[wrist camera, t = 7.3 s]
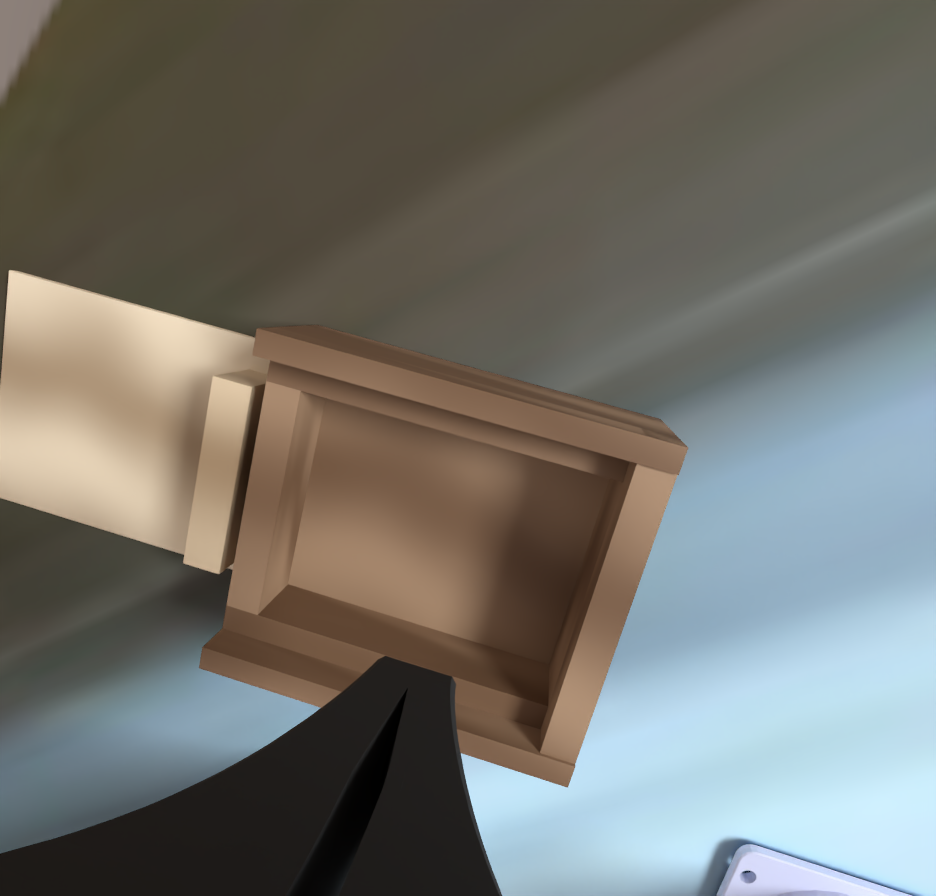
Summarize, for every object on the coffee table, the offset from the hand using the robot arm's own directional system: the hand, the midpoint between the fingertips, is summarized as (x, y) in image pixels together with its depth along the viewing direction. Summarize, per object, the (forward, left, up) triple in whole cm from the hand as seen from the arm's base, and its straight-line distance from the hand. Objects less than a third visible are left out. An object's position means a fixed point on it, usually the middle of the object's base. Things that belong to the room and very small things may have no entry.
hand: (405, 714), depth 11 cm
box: (0, +1, -10) cm, 10 cm away
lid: (0, +12, -10) cm, 16 cm away
